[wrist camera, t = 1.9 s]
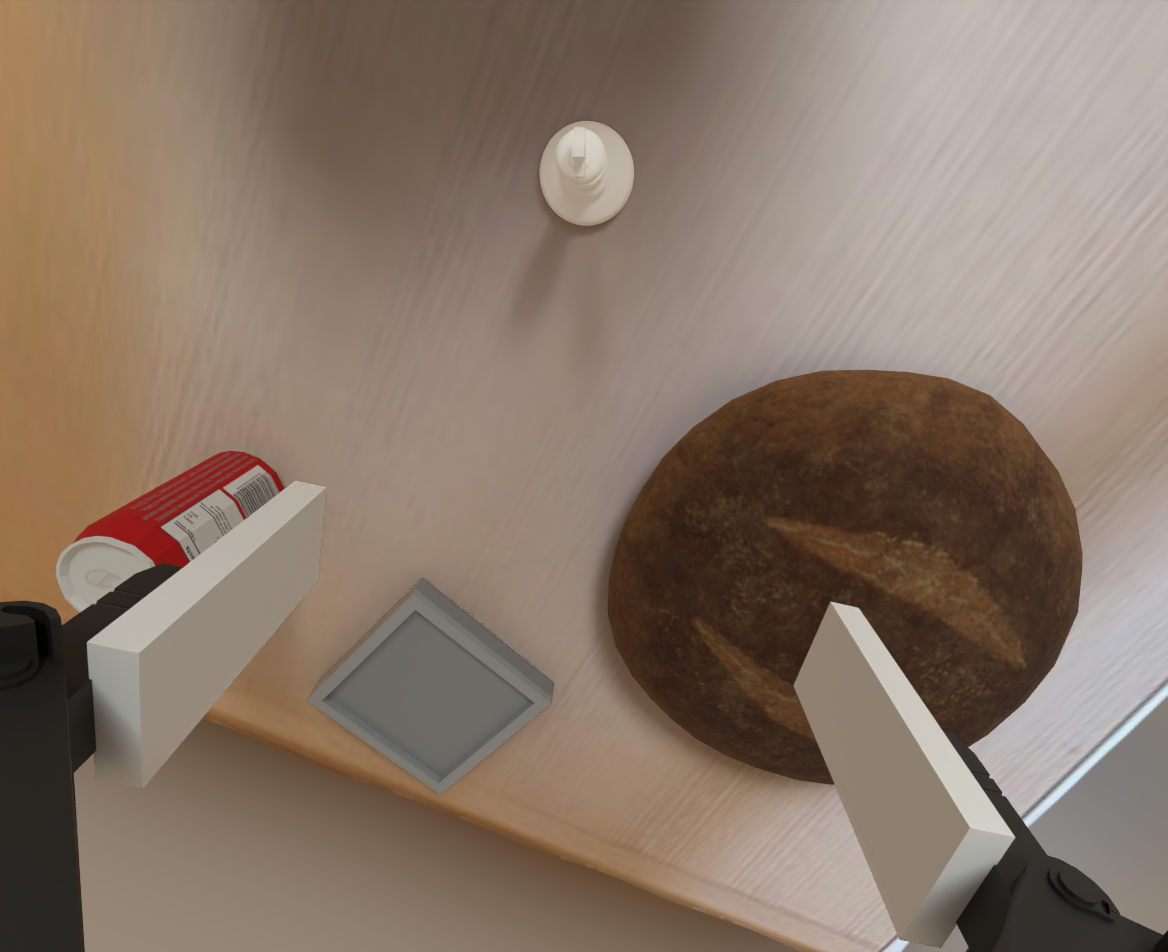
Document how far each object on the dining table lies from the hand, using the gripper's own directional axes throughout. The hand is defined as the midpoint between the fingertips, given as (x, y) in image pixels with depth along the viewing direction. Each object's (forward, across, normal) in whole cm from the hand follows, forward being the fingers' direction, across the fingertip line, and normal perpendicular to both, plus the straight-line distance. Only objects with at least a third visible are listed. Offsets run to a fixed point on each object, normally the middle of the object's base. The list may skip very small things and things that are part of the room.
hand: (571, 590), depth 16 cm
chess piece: (+22, -3, +11) cm, 25 cm away
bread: (+23, +17, -8) cm, 30 cm away
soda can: (+22, -20, -11) cm, 32 cm away
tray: (+22, -6, -23) cm, 33 cm away
